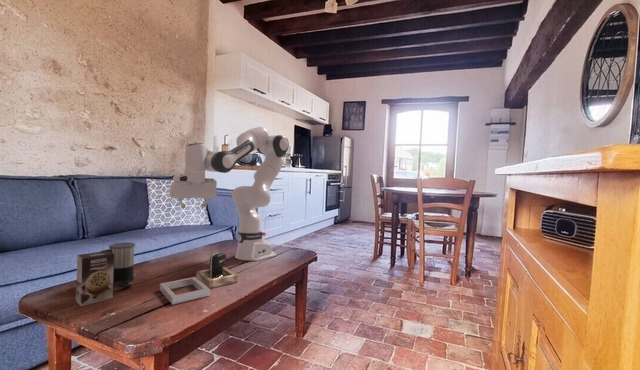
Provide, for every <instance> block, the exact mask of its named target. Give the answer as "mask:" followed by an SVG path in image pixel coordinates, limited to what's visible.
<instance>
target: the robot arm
mask: <svg viewBox="0 0 640 370" xmlns="http://www.w3.org/2000/svg"><path fill="white" fill-rule="evenodd" d="M235 140H236V146H235V147H233V148H232V149H230V150H220V151H214V150H212V149H210V147H209V148H208V147H207V146H206V145H205V143H202V142H198V143H189V144H188V145H186V148H185V152H184V153H185V154H184V164H185V167H184V170H183V171H184V172H183V173H182V174H179V175H174V176H173V177H172V181H173V182H172V183H171V184H170V187H169V188H170V189H169V197H170V198H171V199H178V202H179V204H180V209H186V203H184V202H183V201H184V199H204V202H203V203H201V207H202V208H207V205H208V202H210V201H209V200H210V198H212V199H214V198H216V197H217V196H218V195H217V194H218V193H217V191H218V190H217V184H218V183H217V180H216V179H214V178H212V177H211V178H207V177H206V171H207V172H212V173H213V172H215V173H216V172H217V173H223V174H226V173H230V171H232V170H233V169H234V167H235V166H236V164H237V163H238V162H240V161H241V160H242V159H244V158H245V157H247V156H248V155H249V154H251V153H253V152H255V151H257V153H259V154H261V155H265V159H264V161H262V163H261V164H260V165H259V167H258V169H256V171H255V172H254V174H253V180H254V181H253V184H252V185H251V186H247V185H240V186H237V187H235V188H233V191H232V193H231V198H232V200H233V202H234V204H235V205H236V209H237V212H238V218H239V219H238V220H239V224H238V226H239V229H238V233H237V248H236V253H235V256H234V258H236V259H237V260H240V261H253V262H258V261H262V260H266V259H270V258H273V257H276V256H277V254H276V252H275V251H273V248H272V247H273V246H272V245H271V243H270V242H268V241H267V240H266V239H265V238H263V237H265V236H266V235H267V232H265V231H261V229H260V228H261V218H260V215H259V213H257V210H256V209H257V208H263V207H267V206H269V203H270V202H271V197H272V196H271V193H270V190H271V186H272V184H273V182H274V180H276V178H277V176H278V175H279V173H280V171H281V169H282V168H283V164H284V159H283V158H284V157H285V156H286V155H287V154H286V153H287V152H288V151H289V147H290V143H289V139H288V138H287V137H286V136H284V135H281V134H278V135H276V134H275V135H274V134H273V135H269V132H268V131H267V129H266V128H265V127H263V126H257V127H253V128H250V129H248V130H246V131H244V132H242V133H240V134H239V135H238V136H237V137H236V139H235Z"/></svg>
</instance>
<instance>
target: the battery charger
mask: <svg viewBox="0 0 640 370" xmlns="http://www.w3.org/2000/svg"><path fill="white" fill-rule="evenodd" d="M226 264H227V256H226V253H225V252H221V251H220V252H219V251H218V252H215V253H212V254H211V256H210V257H209V269H210V278H211V279H214V278H219V277H224V275H223V267H224V266H225V265H226Z"/></svg>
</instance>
